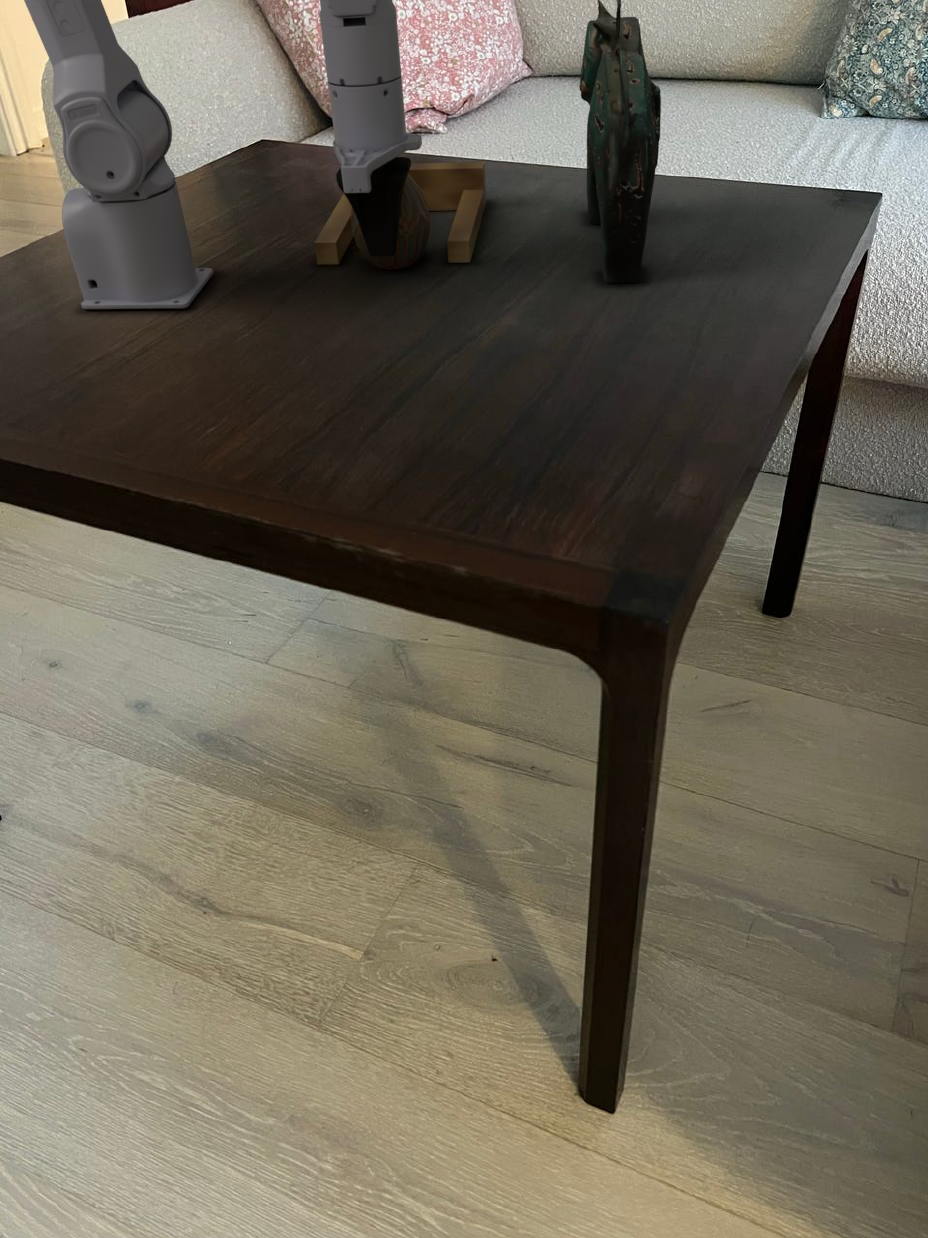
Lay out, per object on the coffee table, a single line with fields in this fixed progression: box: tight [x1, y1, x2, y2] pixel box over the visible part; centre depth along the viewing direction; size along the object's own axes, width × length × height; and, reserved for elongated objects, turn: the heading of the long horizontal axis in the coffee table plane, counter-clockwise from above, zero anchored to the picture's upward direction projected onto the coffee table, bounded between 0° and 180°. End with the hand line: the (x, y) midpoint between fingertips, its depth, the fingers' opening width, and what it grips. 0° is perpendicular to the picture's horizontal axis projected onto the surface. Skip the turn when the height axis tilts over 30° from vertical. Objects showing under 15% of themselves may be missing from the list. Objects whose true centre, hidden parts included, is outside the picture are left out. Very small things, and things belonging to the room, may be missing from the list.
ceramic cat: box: [578, 0, 662, 284], centre depth 86 cm, size 20×6×20 cm, turn 178°
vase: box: [351, 174, 431, 270], centre depth 89 cm, size 7×7×9 cm
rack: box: [313, 161, 487, 266], centre depth 96 cm, size 14×16×4 cm
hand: (383, 253), depth 87 cm, fingers closed
